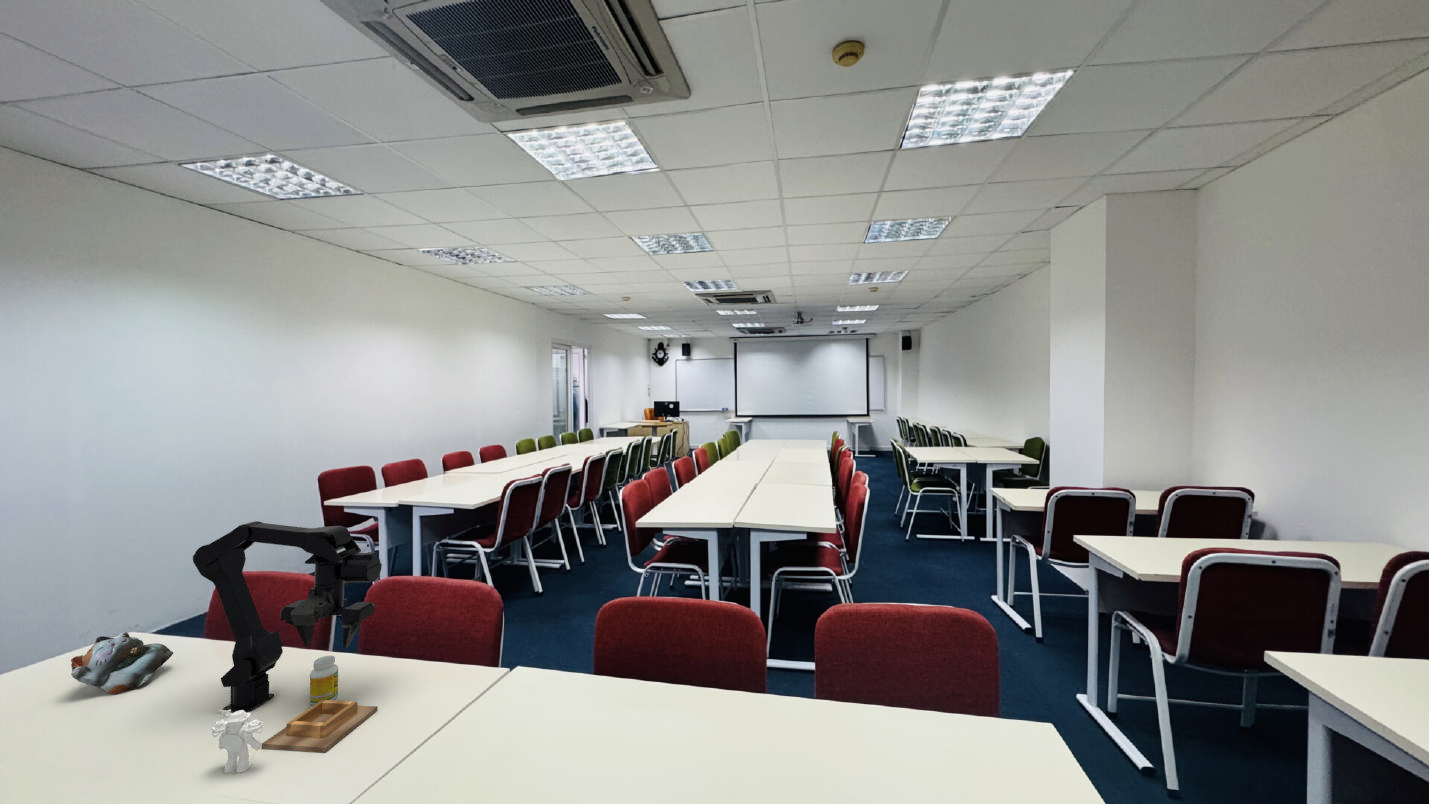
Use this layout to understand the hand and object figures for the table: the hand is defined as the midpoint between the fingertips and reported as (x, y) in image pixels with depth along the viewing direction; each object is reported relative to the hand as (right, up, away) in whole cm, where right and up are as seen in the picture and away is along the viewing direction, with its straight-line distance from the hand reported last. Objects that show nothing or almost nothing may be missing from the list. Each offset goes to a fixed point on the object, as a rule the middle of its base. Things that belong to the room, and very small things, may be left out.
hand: (326, 647), depth 119 cm
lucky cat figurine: (-56, -13, +7) cm, 58 cm away
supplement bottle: (-1, -13, 0) cm, 13 cm away
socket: (+7, -13, -10) cm, 18 cm away
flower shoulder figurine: (0, -13, -22) cm, 26 cm away
